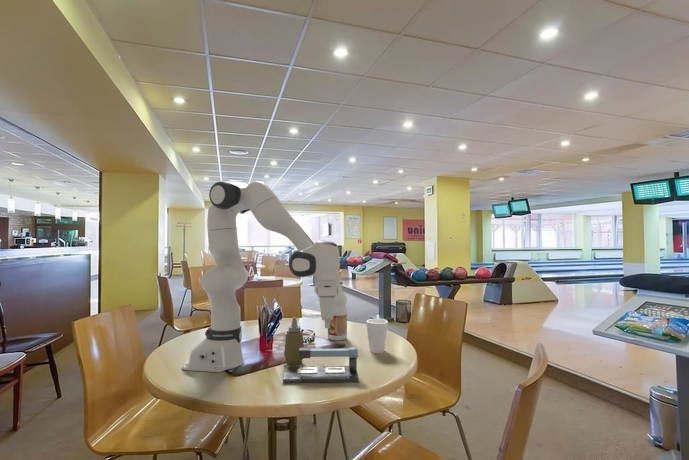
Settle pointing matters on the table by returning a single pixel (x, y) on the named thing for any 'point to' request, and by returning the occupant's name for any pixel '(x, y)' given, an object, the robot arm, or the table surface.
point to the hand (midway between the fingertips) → (327, 327)
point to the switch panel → (322, 374)
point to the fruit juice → (339, 318)
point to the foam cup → (377, 334)
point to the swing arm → (328, 352)
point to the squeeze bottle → (293, 344)
